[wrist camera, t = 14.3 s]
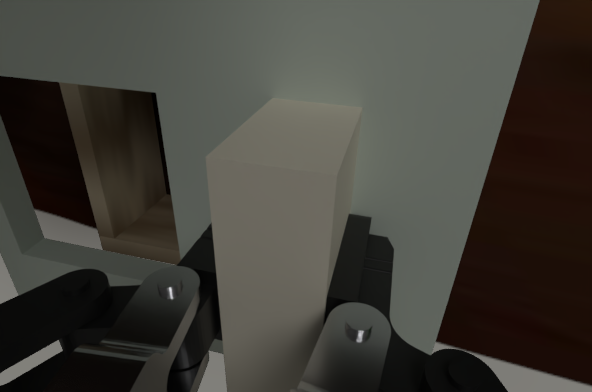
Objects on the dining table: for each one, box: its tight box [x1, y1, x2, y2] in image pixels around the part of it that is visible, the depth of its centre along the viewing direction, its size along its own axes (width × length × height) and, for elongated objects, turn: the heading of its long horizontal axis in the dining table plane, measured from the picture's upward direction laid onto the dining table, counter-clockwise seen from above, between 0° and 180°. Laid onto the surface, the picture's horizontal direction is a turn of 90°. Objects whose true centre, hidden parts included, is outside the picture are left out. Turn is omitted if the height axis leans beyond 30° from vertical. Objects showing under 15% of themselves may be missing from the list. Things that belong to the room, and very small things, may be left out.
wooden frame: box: [59, 82, 181, 265], centre depth 20 cm, size 14×18×6 cm
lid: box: [0, 0, 539, 392], centre depth 12 cm, size 14×18×5 cm
